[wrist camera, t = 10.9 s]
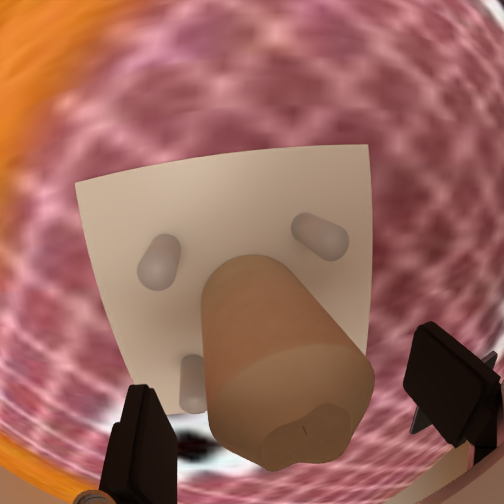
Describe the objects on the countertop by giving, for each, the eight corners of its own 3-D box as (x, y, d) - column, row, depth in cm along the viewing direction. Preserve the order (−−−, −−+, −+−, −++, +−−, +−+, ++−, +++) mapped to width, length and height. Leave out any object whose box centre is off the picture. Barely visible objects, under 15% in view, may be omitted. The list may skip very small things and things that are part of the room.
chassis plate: (355, 145, 16) (406, 141, 11) (354, 361, 21) (385, 401, 16) (85, 181, 14) (42, 188, 9) (151, 402, 19) (145, 452, 14)
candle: (315, 299, 17) (416, 416, 7) (246, 357, 17) (289, 500, 8) (255, 231, 15) (347, 334, 6) (179, 300, 15) (169, 458, 6)
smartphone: (418, 404, 25) (499, 350, 26) (413, 398, 26) (494, 346, 27) (409, 437, 27) (486, 386, 28) (405, 431, 28) (482, 383, 29)
